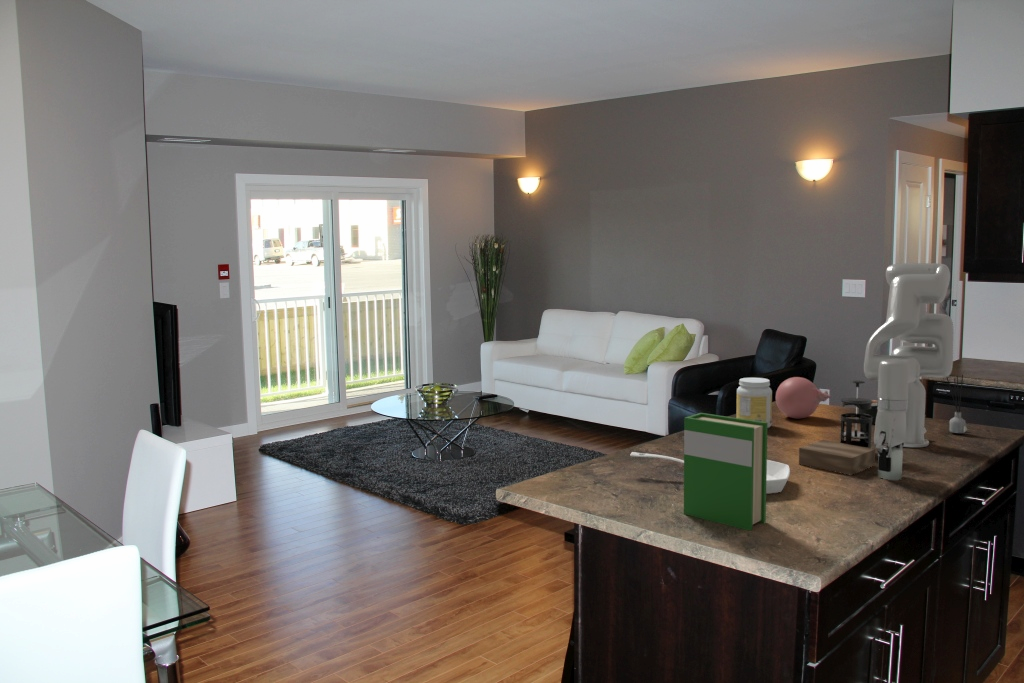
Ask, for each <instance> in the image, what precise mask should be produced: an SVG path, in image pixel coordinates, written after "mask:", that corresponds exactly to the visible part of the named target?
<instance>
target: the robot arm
mask: <svg viewBox="0 0 1024 683" xmlns="http://www.w3.org/2000/svg"><path fill="white" fill-rule="evenodd" d="M885 279H886V282H887V284H888V287H889V291H888V292H889V293H888V300H887V301H888V302H887V308H886V309H887V310H886V318H885V319H886V321H885V322H884V323H883V324H882V325H881V326H880V327H878V328H877V329H876V330H875V331H874V332H873V333H872V334H871V336H870V338H869V339H868V340H867V343H866V347H865V352H864V360H863V374H864V376H865V378H867V380H869V381H872V382H873V381H874V382H877V401H878V402H877V409H878V412H877V416H876V422H875V425H874V434H873V435H874V436H873V444H874V446H875V448H876V450H877V456H878V458H879V461H878V460H877V463H878V464H877V465H878V466H877V470H878V469H879V470H881V471H886V472H890V471H891V458H890V453H891V448H892V447H897V448H901V449H902V450H903V451H904V449H903V448H924V447H925V448H926V447H928V446H929V444H930V441H929V440H928V439H927V438H925V434H926V433H927V429H926V427H925V419H926V418H925V416H926V415H925V413H926V397H927V396H926V394H927V392H926V389H925V386H924V385H923V383H922V382H921V381H920V379H919V377H926V378H927V377H928V378H948V377H949V376H950V375H951V374H952V371H953V366H954V365H953V364H954V333H955V332H954V324H953V323H954V322H953V320H952V318H951V316H949V315H948V314H945V313H932V312H931V313H930V312H928V311H927V310H928V309H927V306H928V305H927V304H933V305H934V304H941V303H942V302H944V300H945V298H946V296H947V293H948V288H949V285H950V281H951V271H950V269H949V267H948V265H946V264H944V263H940V262H939V263H936V262H935V263H934V262H931V263H929V262H927V263H919V262H909V263H908V262H906V263H905V262H903V263H902V262H901V263H893V264H890V265H888V266H887V267H886V270H885ZM895 338H897V339H898V340H899V341H901V342H902V343H908V344H910V343H911V344H924V345H935V346H921V345H900V346H897V347H895V348H894V349H893V350H892V351H891V354H890V355H889V354H888V355H887V354H877V352H878V350H879V348H880V347H881V345H883V344H885V342H887V341H890V340H891V339H895ZM884 448H887V452H886V450H885V449H884Z"/></svg>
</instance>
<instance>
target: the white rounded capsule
mask: <svg viewBox="0 0 1024 683" xmlns="http://www.w3.org/2000/svg"><path fill="white" fill-rule="evenodd" d="M884 449H885V450H886V452H887V448H884ZM903 452H904V449H903V450H902V449H901V448H897V447H892V448H891V453H890V458H891V471H890V472H886V471H881V470H879V469H878V468H877V478H879V477H880V479H881V478H883V479H882V480H885V479H888V481H900V480H902V479H901V478H902V476H903V454H904V453H903ZM877 458H878V460H877V462H878V461H879V457H877ZM899 479H900V480H899Z"/></svg>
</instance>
